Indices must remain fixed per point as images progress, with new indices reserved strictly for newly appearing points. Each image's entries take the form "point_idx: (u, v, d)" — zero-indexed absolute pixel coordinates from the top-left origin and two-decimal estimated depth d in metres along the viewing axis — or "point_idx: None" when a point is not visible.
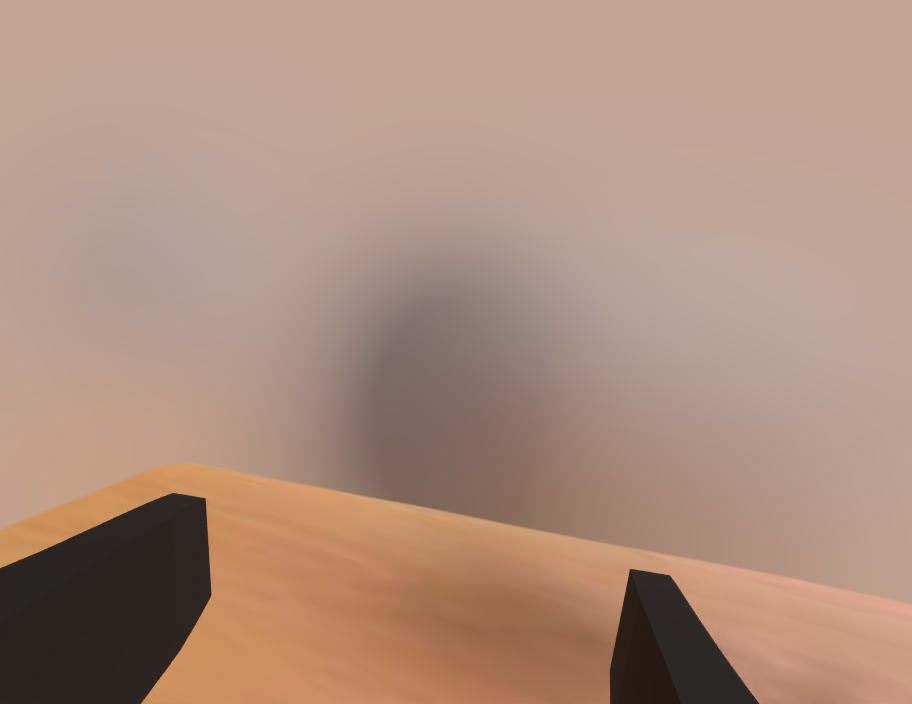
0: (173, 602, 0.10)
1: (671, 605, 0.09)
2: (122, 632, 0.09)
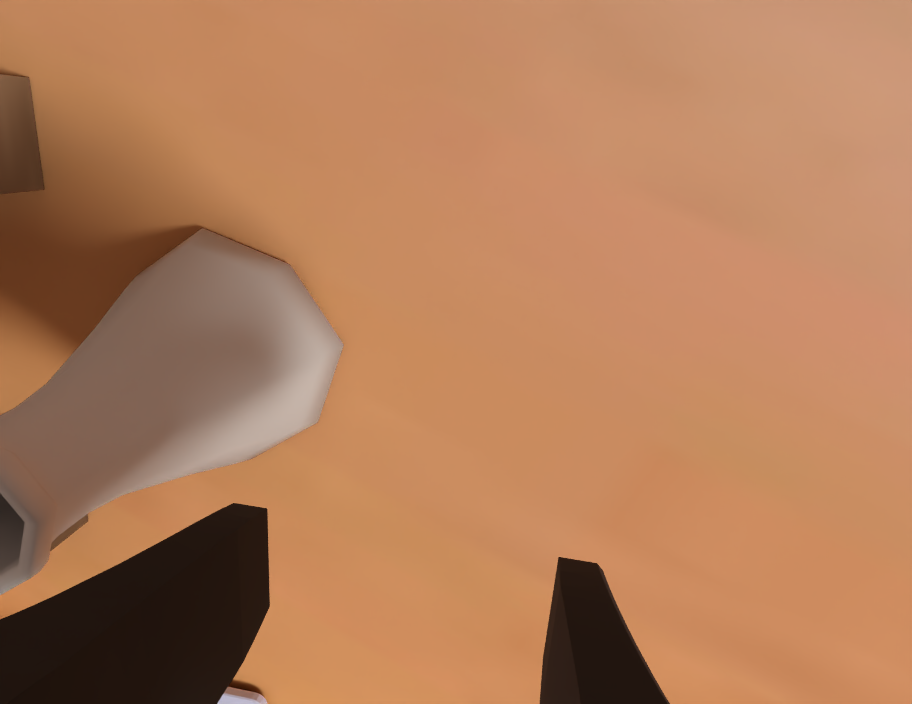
0: (238, 614, 0.10)
1: (590, 591, 0.09)
2: (194, 646, 0.09)
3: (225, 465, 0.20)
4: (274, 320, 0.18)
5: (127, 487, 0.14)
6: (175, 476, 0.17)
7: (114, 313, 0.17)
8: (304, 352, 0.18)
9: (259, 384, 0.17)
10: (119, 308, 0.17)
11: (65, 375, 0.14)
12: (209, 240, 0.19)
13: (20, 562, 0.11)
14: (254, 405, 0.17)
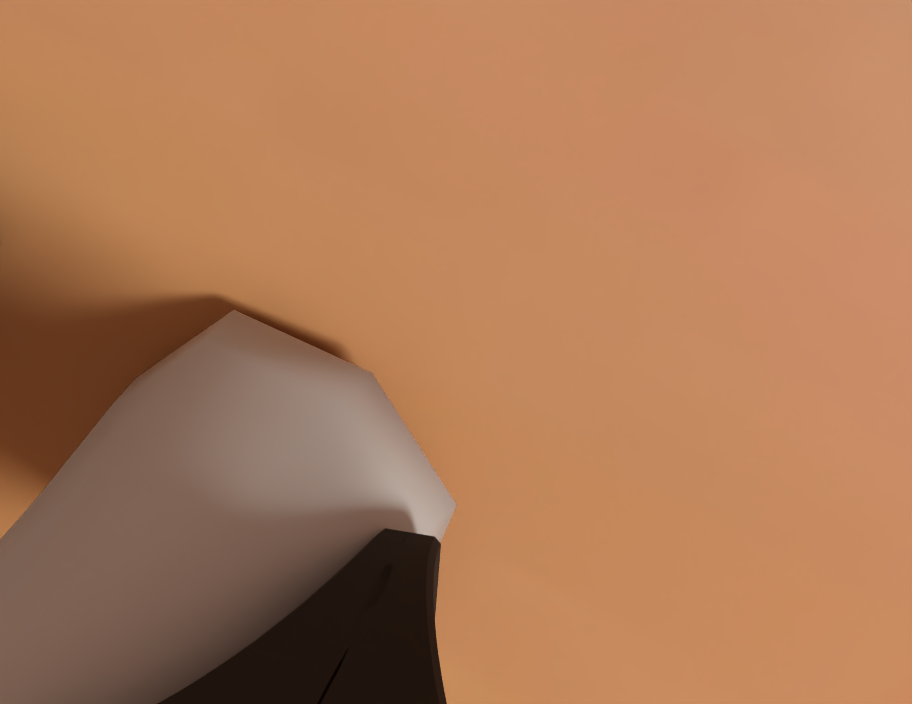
0: None
1: (409, 560, 0.09)
2: None
3: None
4: (343, 481, 0.10)
5: None
6: None
7: (70, 473, 0.10)
8: None
9: None
10: (80, 463, 0.10)
11: None
12: (243, 332, 0.11)
13: None
14: None
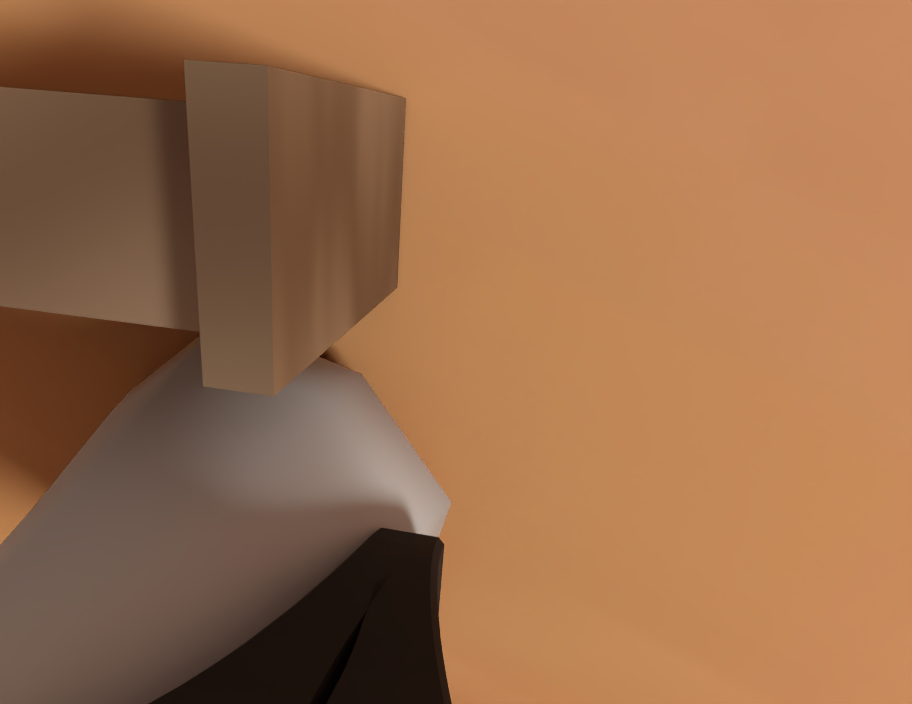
0: None
1: (413, 561, 0.09)
2: None
3: None
4: (335, 481, 0.10)
5: None
6: None
7: (63, 482, 0.10)
8: None
9: None
10: (73, 472, 0.10)
11: None
12: None
13: None
14: None
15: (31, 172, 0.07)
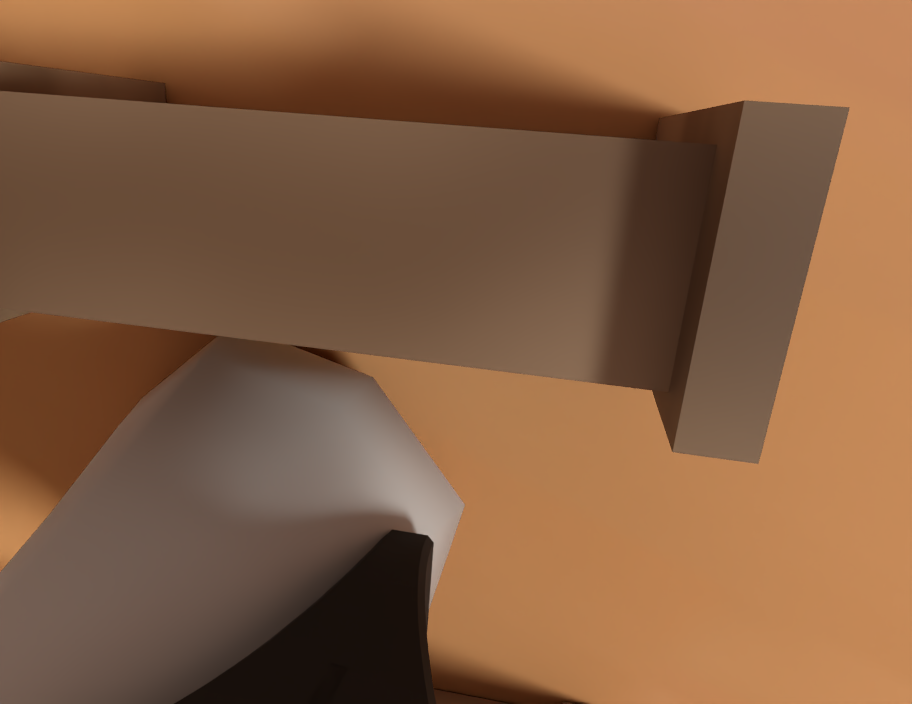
0: None
1: (401, 559, 0.09)
2: None
3: None
4: (349, 485, 0.10)
5: None
6: None
7: (78, 490, 0.10)
8: None
9: None
10: (87, 480, 0.10)
11: None
12: (244, 344, 0.12)
13: None
14: None
15: (462, 216, 0.07)
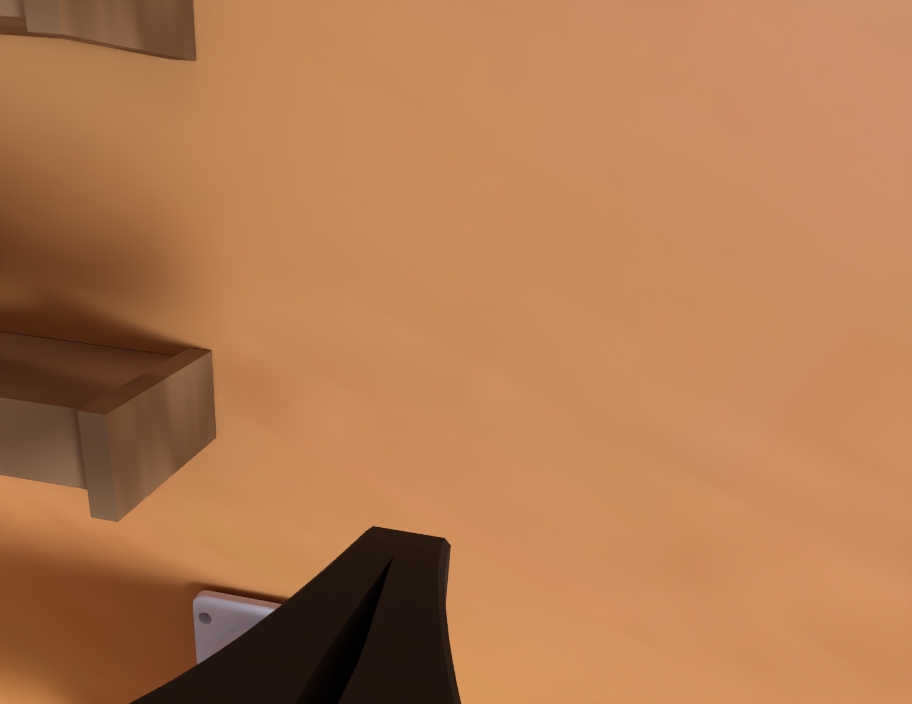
0: None
1: (420, 562, 0.09)
2: None
3: None
4: None
5: None
6: None
7: None
8: None
9: None
10: None
11: None
12: None
13: None
14: None
15: None
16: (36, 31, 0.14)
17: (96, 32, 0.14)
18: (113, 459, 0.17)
